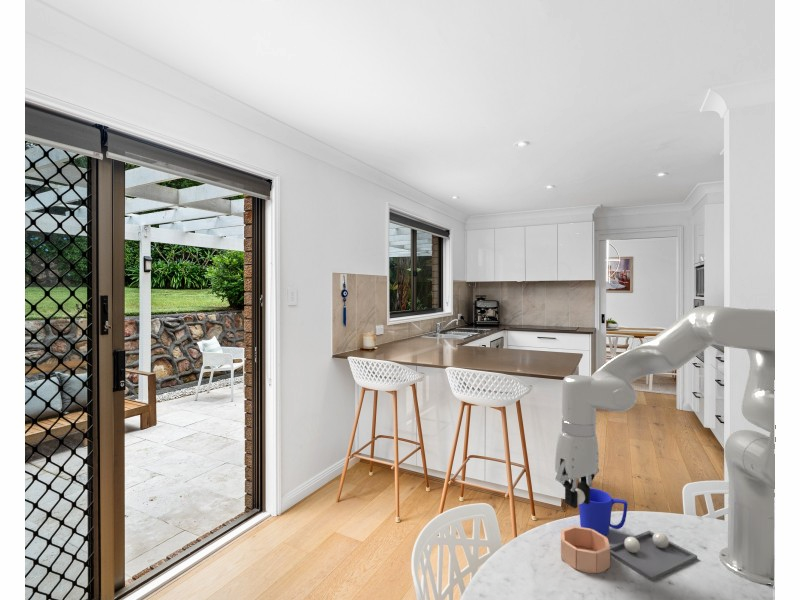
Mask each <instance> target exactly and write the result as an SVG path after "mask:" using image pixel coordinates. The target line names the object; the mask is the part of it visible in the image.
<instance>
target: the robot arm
mask: <svg viewBox="0 0 800 600" xmlns="http://www.w3.org/2000/svg"><path fill="white" fill-rule="evenodd" d="M713 345H716V346H720V347H725V348H732V349H741V350H746V352H747V354H748V357H749V370H748V377H747V380H746V385H745V390H744V393H743V398H742V401H741V413H742V414H741V415H742V416H743V417H744V418H745V420H747V421H748V422H749V423H750V424H752V425H754V426H756V427H757V428H760V429H762V430H765V431H767V432H768V433H769V436H768V435H766V434H763V433H761V432H759V431H755V430H751V429H742V430H741V429H740V430H736V431H734V432H733V433H731V434H730V435H729V436H728V437H727V439H726V441H725V444H724V458H725V463H726V467H727V476H728V497H727V498H728V499H727V500H728V503H727V504H728V507H727V508H728V509H727V510H728V511H727V512H728V513H727V514H728V515H727V547H725V548H722V549H721V550H720V551H719V561H720V562H721V564H722V565H723V566H724V567H725V568H727V570H728V571H730V572H732V573H733V574H735V575H737V576H739V577H740V578H743V579H746V580H748V581H750V582H754V583H756V584H757V583H758V584H760V585H765V586H767V585H766V584H768V583H771V585H770V586H771V587H772V586H773V587H775V586H774V497H775V493H774V489H775V454H774V449H775V444H774V391H775V390H774V380H775V310H774V309H763V308H762V309H761V308H738V307H731V306H730V307H729V306H716V305H698V306H696V307H694V308H692V309H690V310H688V311H687V312H686V313H684V314H683V315H682V316H680V317H679V318H678V319H677V320H675V321H674V322H672V323H671V324H670V325H668V326H667V327H665V328H664V329H663V330H662V331H660V332H659V333H658V334H656V335H655V336H654V337H652V338H651V339H649V340H647V341H646V342H644V343H641V344H639V345H636V346H634V347H633V348H630V349H629V350H627V351H624V352H622V353H620V354H618V355H617V356H615V357H613V358H612V359H610V360H608V362H606V363H605V364H604V365H602V366H601V367H599V368H598V369H597V370H596V371H595V372H594V373H592V374H591V376H588V375H581V374H571V375H566V376H564V378H562V384H561V385H562V391H561V393H562V394H561V395H562V399H561V401H562V403H561V405H562V406H561V432H560V433H559V434H558V437H557V438H558V439H557V444H556V449H555V458H554V459H555V460H554V471H555V473H556V475H555V481H557V482H558V483H560V484H561V485H562V487H564V503H565V504H567V505H568V506H569V507H572V508H574V509H576V508H578V504H577V500H578V492H577V491H575V490H576V488H578V489H580V490H582V491H583V492H584V494H585V501H584V503H586V504H590V488H592V486H593V481H594V479H595V476H596V475H597V474H598V473H599V471H600V468H599V459H600V458H599V444H598V442H599V441H598V436H597V433H596V432H597V409H598V410H603V411H604V410H605V411H610V412H616V413H619V412H620V413H621V412H622V413H623V412H626V411H628V410H630V409H632V408H634V406H635V404H636V403H637V398H638V396H637V392H636V390H635V388H634V387H633V385H632V384H631V383H633V382H635V381H636V380H638V379H641V378H643V377H646V376H648V375H655V374H663V373H670V372H674V371H677V370H678V369H680V368H682V367H684V366H685V365H686V364H687V363H688V362H689V361H691V360H692V359H694V358H695V357H697V356H698V355H700V354H702V352H704V351H705V350H706V349H708V348H709V347H710V346H713ZM775 429H776V425H775ZM775 442H776V437H775ZM570 480H571V481H570ZM577 481H579V482H577Z"/></svg>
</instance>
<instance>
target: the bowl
mask: <svg viewBox="0 0 800 600" xmlns="http://www.w3.org/2000/svg"><path fill="white" fill-rule="evenodd" d="M610 546H611V545H610V542H609V539H608V537H607V536H603V535H602V534H600V533H598V532H597V531H595V530H593V529H590V528H583V527H581V526H576V525H572V526H569V527H566V528H563V529H560V558H561V559H562V561H564V563H565V564H566V565H568V566H569V567H571V568H573V569H575V570H578V571H579V572H583V573H589V574H599V573H603V572H606V570H607V569H609V568H610V567H611V556H610Z"/></svg>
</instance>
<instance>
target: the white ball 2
mask: <svg viewBox="0 0 800 600" xmlns="http://www.w3.org/2000/svg"><path fill="white" fill-rule="evenodd" d="M624 540H625V541H624ZM624 540H623V541H624V545H625V548H626V549H627V550H628V551H629V552H631V553H636V552H638V551H639V550H640V543H639V541H638V540H637V539H636V538H634V536H626V537H625V538H624Z"/></svg>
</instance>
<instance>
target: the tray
mask: <svg viewBox="0 0 800 600" xmlns="http://www.w3.org/2000/svg"><path fill="white" fill-rule="evenodd" d="M655 533H656V532H653V531H651V530H647V531H643V532H642V533H639V534H637V535H634V536H633V537H634V538H636V539H637V540H638V541H639V543H640V550H639V551H638V552H636V553H631V552H629V551H628V550H627V549H626V548H625V545H624V541H625V539H624V540H622V541H618V542H616V543H614V544H612V545H609V546H610V557H611V558H613V559H615V560H617V561H618V562H620V563H621V564H623V565H625V567H627V568H628V569H631V570H632V571H634V572H635V573H638V574H639V575H640V576H642V577H643V578H645V579H647V580H649V581H650V582H654V581H656V580H658V579H660V578H662V577H664V576H666V575H669V574H671V573H673V572H674V571H677V570H678V569H680V568H683V567H685V566H687V565H689V564H691V563H693V562H695V561H697V560H698V555H697V554H695V553H693V552H691V551H689V550H687V549H685V548H683V547H682V546H680V545H678V544H676V543H674V542H672V541H670V540H669V544H668V546H667V547H666V548H659V547H657V546H656V545H655V544H654V542H653V539H652V538H653V535H654V534H655Z"/></svg>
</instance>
